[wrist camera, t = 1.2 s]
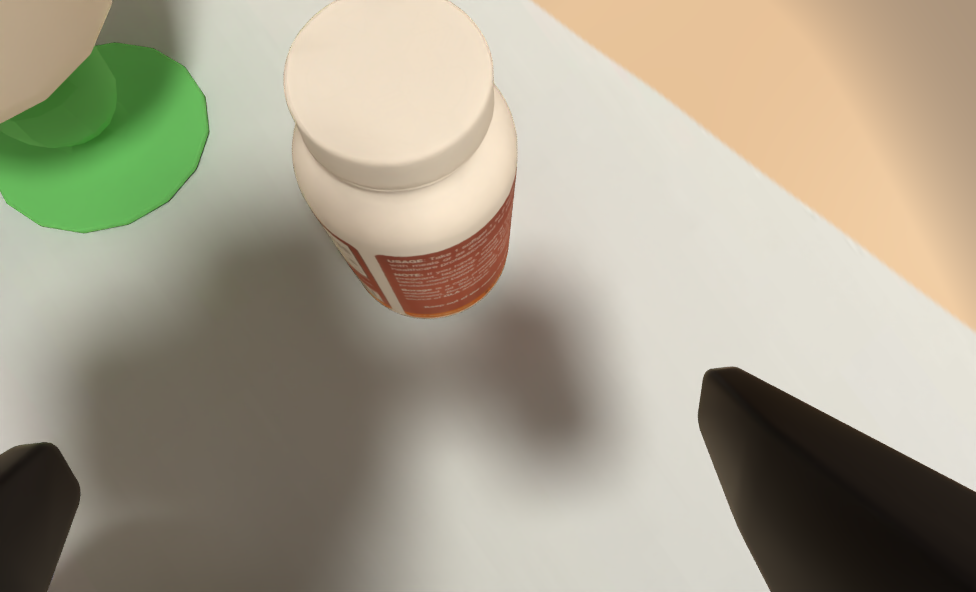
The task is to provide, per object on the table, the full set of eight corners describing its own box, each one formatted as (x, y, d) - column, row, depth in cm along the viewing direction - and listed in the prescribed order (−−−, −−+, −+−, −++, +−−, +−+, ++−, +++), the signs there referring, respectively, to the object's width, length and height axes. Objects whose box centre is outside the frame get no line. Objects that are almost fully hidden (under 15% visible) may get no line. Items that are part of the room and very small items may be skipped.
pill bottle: (527, 205, 24) (565, -2, 13) (479, 343, 22) (478, 234, 12) (387, 161, 24) (314, -73, 14) (330, 293, 23) (197, 145, 12)
